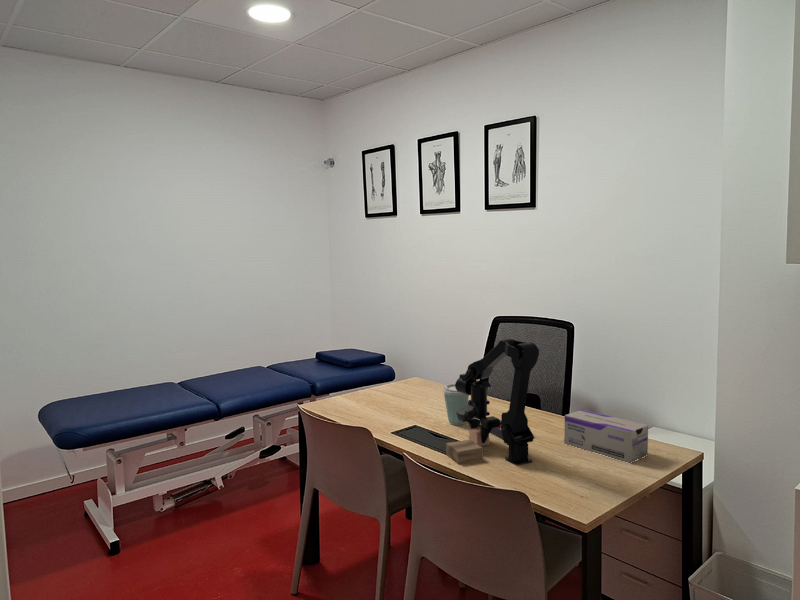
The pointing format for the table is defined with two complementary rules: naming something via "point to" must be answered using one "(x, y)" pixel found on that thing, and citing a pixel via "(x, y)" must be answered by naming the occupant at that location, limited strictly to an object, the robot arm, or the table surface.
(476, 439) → the terracotta cube
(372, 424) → the table surface
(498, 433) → the calculator
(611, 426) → the surgical sutures box
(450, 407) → the disposable coffee cup
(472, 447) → the walnut block
